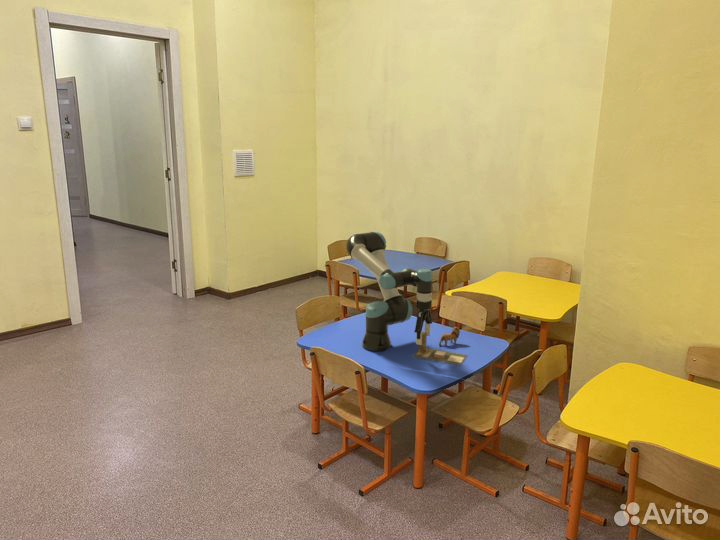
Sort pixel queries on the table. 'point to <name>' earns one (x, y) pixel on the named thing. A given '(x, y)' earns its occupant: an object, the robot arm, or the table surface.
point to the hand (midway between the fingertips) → (423, 340)
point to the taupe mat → (449, 358)
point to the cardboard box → (424, 347)
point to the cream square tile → (440, 354)
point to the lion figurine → (450, 336)
